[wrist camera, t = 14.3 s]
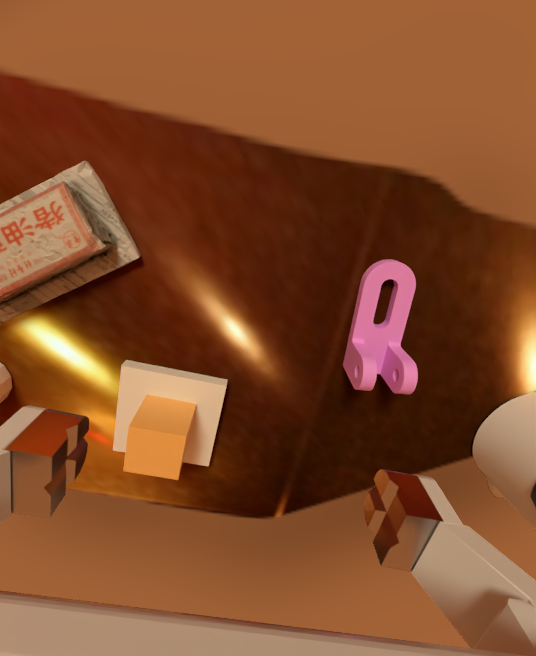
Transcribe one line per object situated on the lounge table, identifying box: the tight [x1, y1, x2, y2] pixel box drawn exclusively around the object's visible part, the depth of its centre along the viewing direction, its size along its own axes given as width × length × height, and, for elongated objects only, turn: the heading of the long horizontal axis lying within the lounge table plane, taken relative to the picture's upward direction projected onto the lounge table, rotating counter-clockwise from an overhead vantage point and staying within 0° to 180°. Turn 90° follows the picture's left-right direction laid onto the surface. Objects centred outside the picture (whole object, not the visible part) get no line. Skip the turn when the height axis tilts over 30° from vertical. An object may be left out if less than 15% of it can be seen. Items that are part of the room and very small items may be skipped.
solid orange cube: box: [123, 394, 196, 480], centre depth 39 cm, size 6×6×6 cm
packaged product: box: [0, 161, 141, 323], centre depth 34 cm, size 18×5×10 cm
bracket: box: [343, 260, 418, 394], centre depth 36 cm, size 13×6×7 cm, turn 173°
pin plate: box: [113, 360, 228, 467], centre depth 40 cm, size 12×12×6 cm
